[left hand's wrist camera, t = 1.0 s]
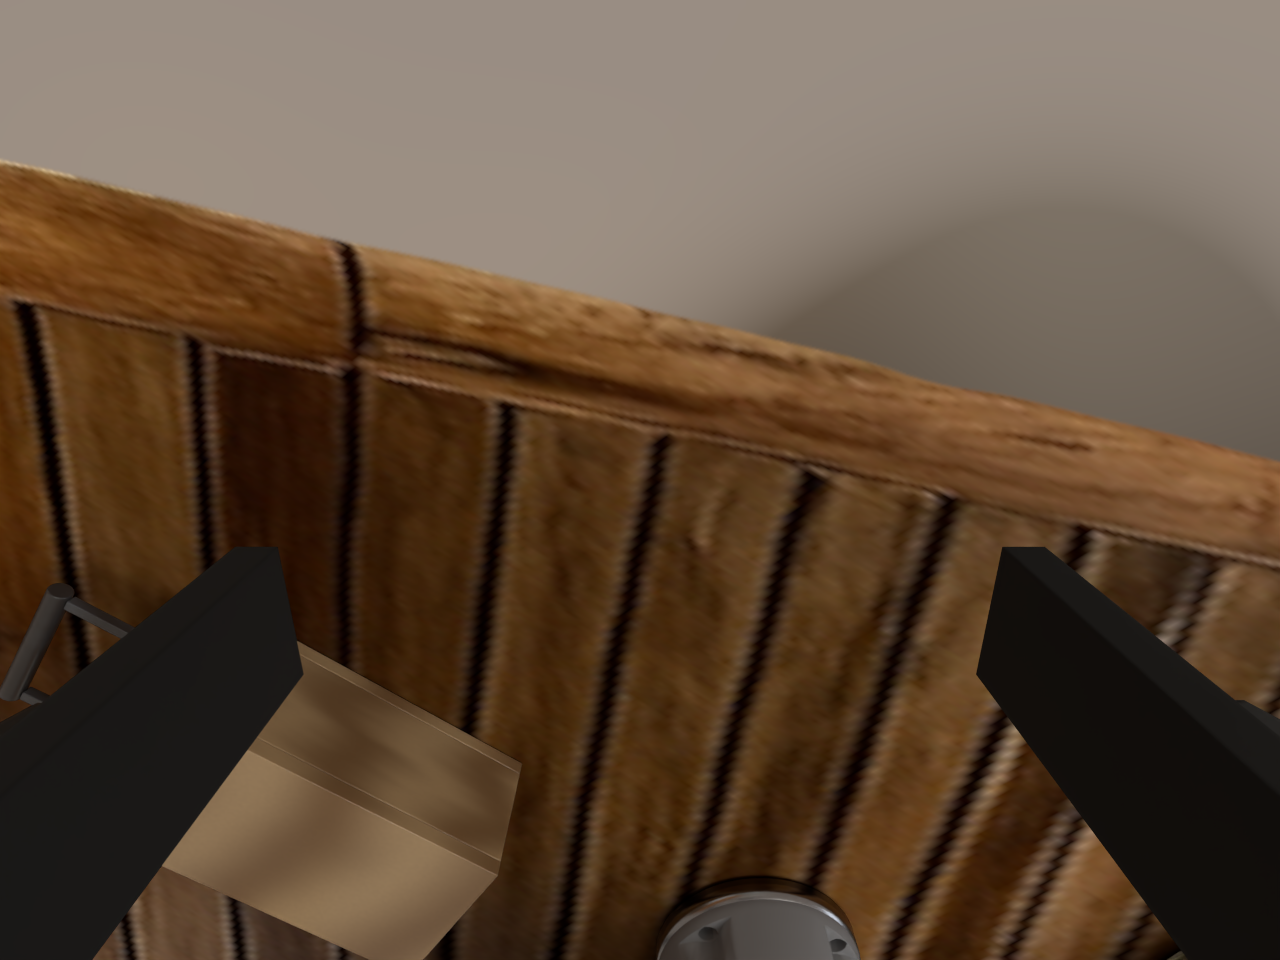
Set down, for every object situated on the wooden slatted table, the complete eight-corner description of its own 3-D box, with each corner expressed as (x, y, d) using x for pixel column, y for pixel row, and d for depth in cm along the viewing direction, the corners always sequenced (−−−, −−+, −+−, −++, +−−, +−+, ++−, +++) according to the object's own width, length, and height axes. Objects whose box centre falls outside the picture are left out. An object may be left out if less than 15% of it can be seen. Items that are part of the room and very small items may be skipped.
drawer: (41, 661, 43) (-60, 736, 37) (94, 553, 40) (-5, 614, 34) (406, 842, 48) (372, 935, 42) (475, 758, 45) (448, 843, 39)
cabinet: (157, 711, 45) (53, 818, 37) (222, 599, 42) (125, 688, 34) (445, 855, 50) (407, 977, 42) (522, 763, 47) (498, 875, 39)
